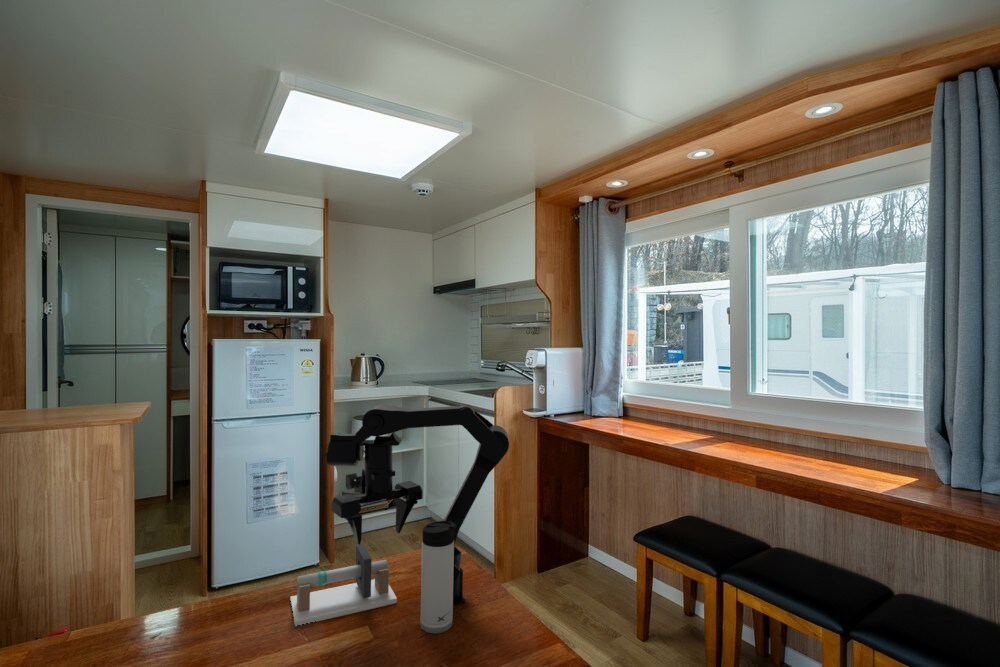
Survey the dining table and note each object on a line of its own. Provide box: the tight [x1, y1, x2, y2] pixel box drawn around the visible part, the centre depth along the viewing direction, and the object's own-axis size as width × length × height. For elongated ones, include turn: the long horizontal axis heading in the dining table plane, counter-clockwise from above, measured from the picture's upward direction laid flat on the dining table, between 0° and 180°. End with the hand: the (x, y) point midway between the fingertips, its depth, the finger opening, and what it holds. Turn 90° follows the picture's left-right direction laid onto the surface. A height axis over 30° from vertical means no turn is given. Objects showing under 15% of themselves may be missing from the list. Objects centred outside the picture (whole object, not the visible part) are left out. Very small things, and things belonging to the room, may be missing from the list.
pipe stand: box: [289, 559, 398, 627], centre depth 108 cm, size 20×10×7 cm, turn 117°
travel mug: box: [419, 520, 456, 634], centre depth 101 cm, size 6×7×20 cm
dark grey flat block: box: [355, 543, 372, 598], centre depth 110 cm, size 2×8×8 cm, turn 27°
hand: (378, 538), depth 110 cm, fingers open, 9 cm apart
